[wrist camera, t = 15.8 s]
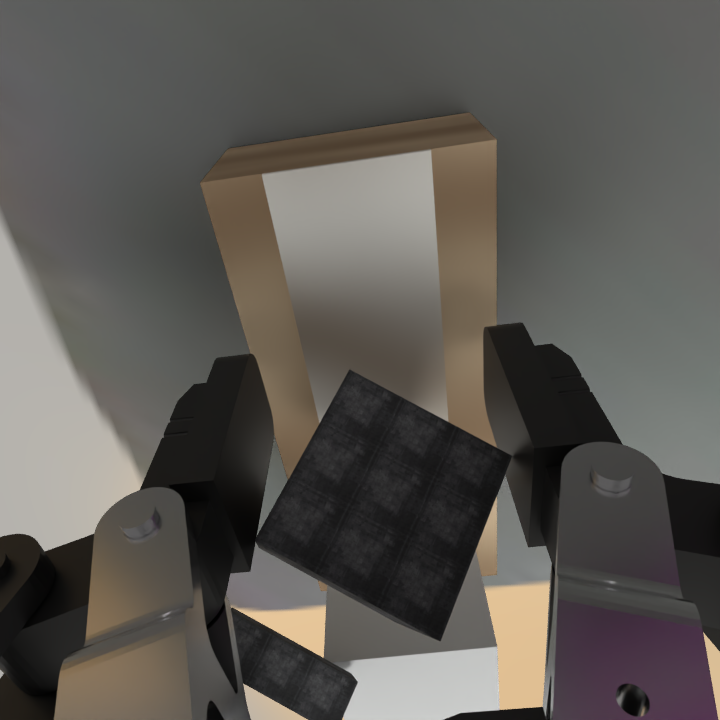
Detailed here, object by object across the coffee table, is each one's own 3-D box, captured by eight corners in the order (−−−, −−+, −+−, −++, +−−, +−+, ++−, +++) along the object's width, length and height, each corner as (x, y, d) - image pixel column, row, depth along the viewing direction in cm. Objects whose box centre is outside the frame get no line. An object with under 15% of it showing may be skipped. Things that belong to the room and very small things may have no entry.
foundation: (227, 148, 14) (198, 184, 11) (469, 112, 13) (498, 140, 11) (324, 521, 21) (320, 593, 19) (479, 505, 21) (497, 577, 18)
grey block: (330, 511, 16) (323, 663, 13) (463, 495, 16) (496, 647, 12) (352, 590, 19) (351, 739, 15) (469, 578, 18) (499, 726, 15)
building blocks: (514, 457, 9) (280, 1066, 6) (429, 496, 14) (275, 845, 11) (349, 368, 10) (41, 925, 6) (321, 438, 15) (142, 768, 12)
